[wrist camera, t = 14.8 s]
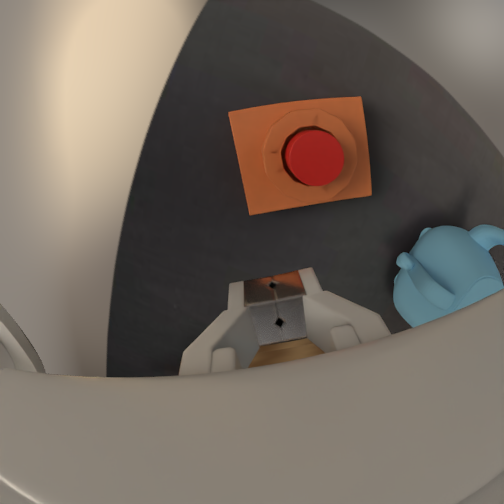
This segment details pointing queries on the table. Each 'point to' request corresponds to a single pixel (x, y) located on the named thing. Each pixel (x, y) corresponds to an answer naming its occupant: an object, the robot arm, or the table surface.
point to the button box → (275, 143)
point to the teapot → (446, 272)
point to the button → (314, 157)
